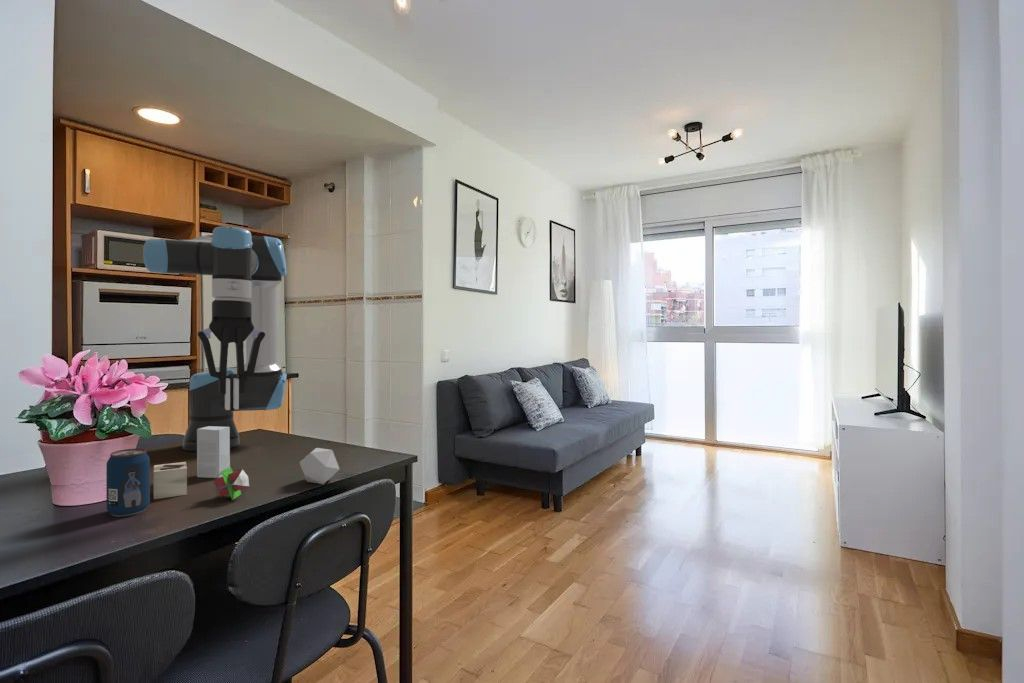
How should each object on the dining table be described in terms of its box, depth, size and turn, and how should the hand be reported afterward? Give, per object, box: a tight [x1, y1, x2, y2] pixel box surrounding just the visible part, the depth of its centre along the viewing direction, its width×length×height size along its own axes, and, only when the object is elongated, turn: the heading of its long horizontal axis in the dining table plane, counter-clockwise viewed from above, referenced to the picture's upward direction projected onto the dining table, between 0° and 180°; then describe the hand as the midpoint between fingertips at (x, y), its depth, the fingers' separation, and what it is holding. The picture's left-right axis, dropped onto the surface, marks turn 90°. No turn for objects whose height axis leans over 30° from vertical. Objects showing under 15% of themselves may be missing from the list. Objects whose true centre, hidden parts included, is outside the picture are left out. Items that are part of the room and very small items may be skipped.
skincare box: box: [196, 426, 231, 479], centre depth 126 cm, size 6×4×12 cm
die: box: [298, 447, 341, 485], centre depth 123 cm, size 8×9×10 cm
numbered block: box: [153, 461, 188, 500], centre depth 113 cm, size 6×6×6 cm
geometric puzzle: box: [212, 465, 251, 501], centre depth 111 cm, size 7×7×8 cm
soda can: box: [105, 448, 151, 518], centre depth 102 cm, size 7×7×12 cm
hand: (231, 408), depth 111 cm, fingers closed
